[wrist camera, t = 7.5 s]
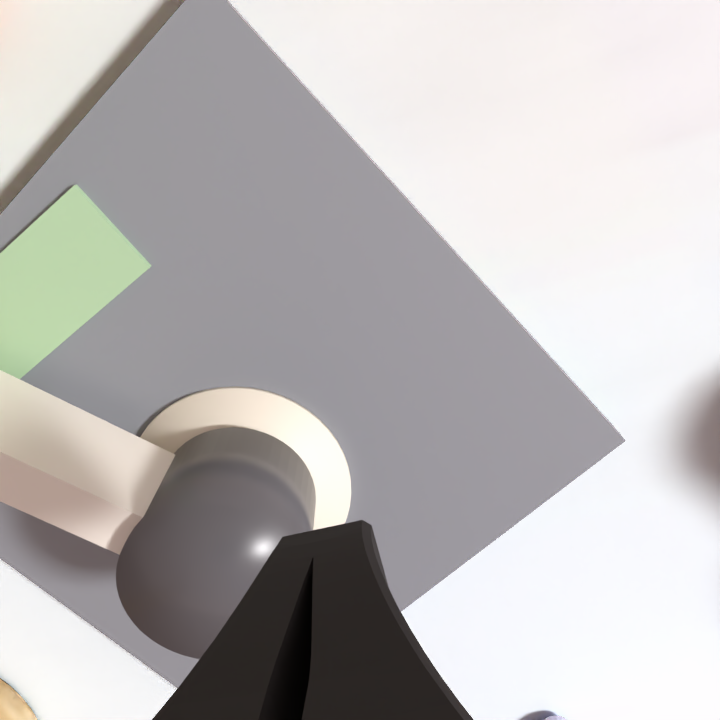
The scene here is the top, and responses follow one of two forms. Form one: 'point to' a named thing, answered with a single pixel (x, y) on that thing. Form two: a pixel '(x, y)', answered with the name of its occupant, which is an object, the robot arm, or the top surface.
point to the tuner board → (271, 319)
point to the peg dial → (156, 507)
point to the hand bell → (13, 705)
